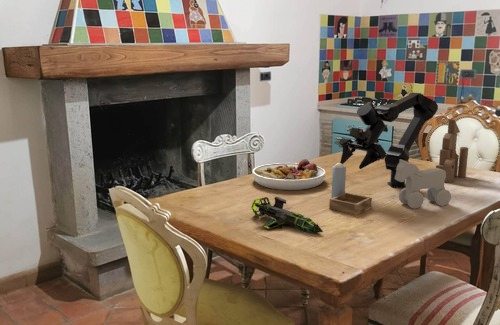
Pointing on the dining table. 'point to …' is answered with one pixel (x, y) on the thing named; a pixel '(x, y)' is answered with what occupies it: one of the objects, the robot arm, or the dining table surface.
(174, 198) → the dining table surface
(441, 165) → the wooden toy
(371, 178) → the dining table surface
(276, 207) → the aircraft
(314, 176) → the bowl
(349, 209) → the square wooden tray
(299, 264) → the dining table surface
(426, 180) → the pony
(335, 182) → the blue bottle
